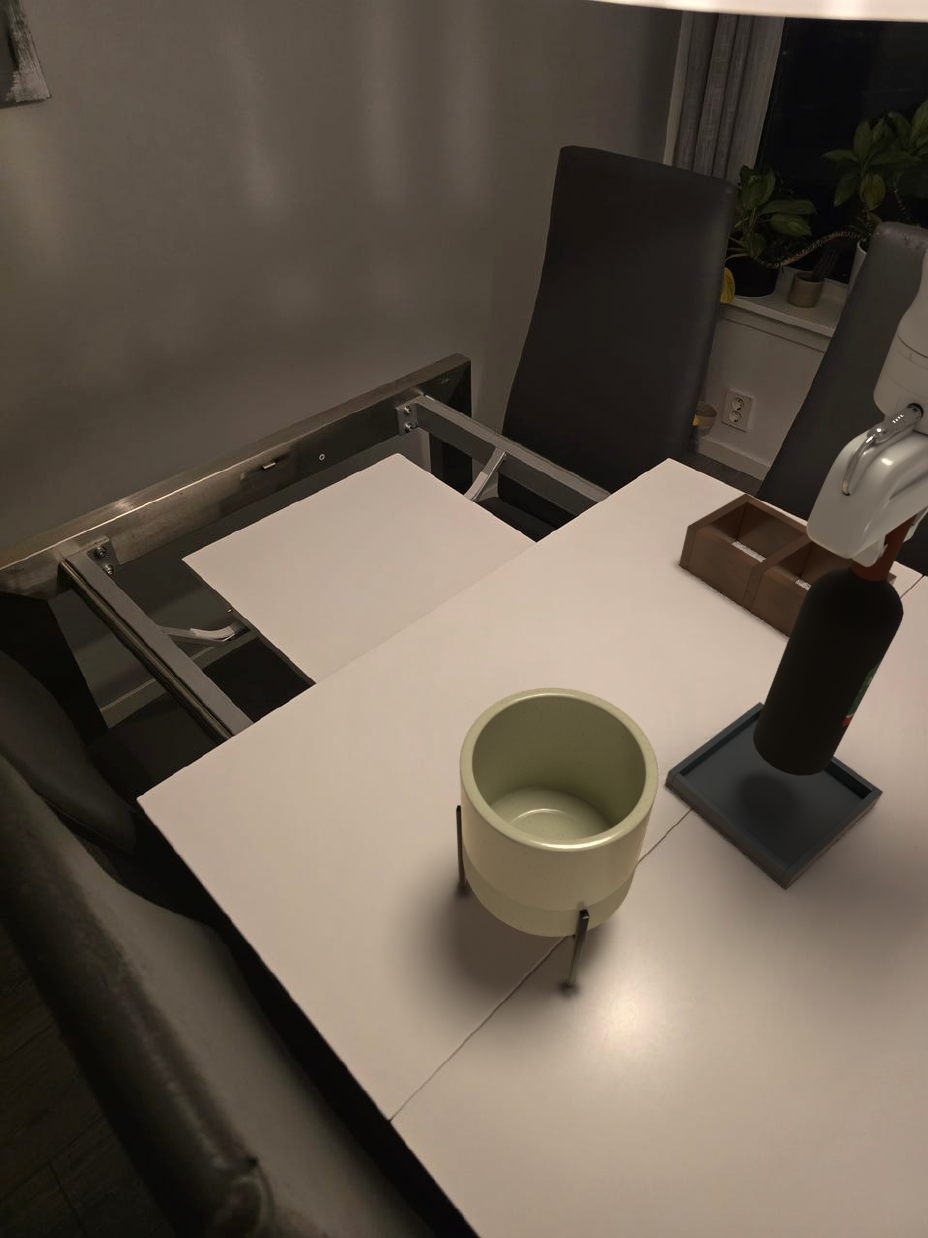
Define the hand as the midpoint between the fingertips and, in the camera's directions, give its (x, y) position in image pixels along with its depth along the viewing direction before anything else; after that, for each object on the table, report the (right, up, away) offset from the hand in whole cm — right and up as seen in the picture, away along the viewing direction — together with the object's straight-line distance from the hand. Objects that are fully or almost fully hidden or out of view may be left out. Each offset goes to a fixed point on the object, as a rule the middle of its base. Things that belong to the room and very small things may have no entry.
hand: (880, 548), depth 61 cm
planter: (-25, -33, +16) cm, 44 cm away
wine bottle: (0, -18, +18) cm, 25 cm away
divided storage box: (+10, -1, +47) cm, 48 cm away
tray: (0, -24, +23) cm, 34 cm away
